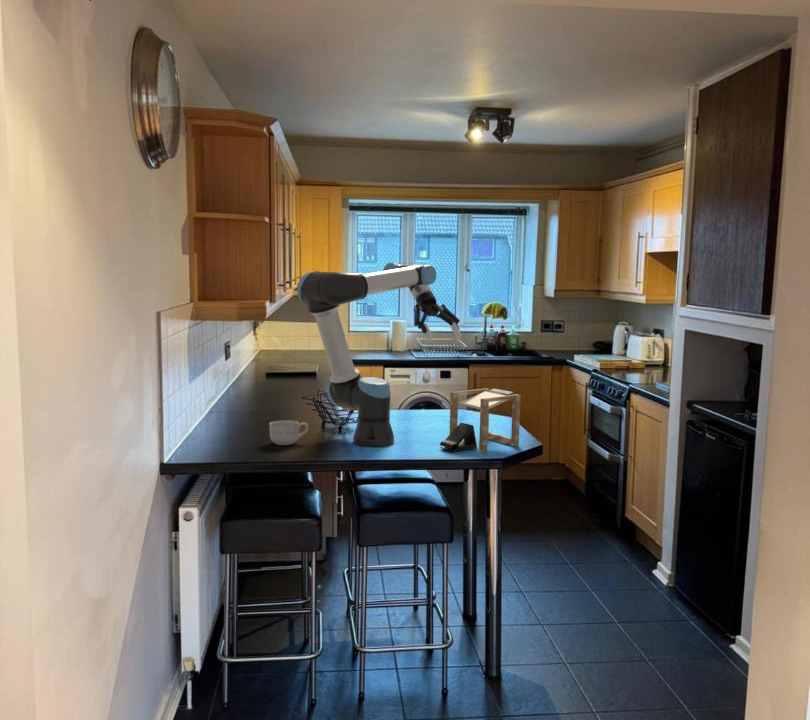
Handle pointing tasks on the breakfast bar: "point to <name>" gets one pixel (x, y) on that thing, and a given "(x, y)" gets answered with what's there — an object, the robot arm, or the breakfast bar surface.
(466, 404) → the trapdoor
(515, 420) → the trapdoor frame
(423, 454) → the breakfast bar surface
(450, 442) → the phone stand
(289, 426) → the teacup
